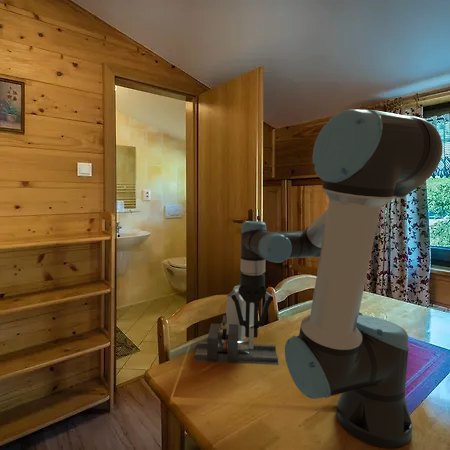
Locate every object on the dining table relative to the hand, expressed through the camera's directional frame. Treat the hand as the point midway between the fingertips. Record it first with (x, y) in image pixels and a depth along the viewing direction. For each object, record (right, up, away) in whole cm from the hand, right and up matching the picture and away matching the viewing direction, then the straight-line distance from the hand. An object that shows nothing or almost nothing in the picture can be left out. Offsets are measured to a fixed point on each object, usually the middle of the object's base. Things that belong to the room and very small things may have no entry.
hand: (251, 346), depth 98 cm
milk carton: (-3, -2, +14) cm, 14 cm away
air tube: (-7, -2, 0) cm, 7 cm away
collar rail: (-5, -3, 0) cm, 6 cm away
